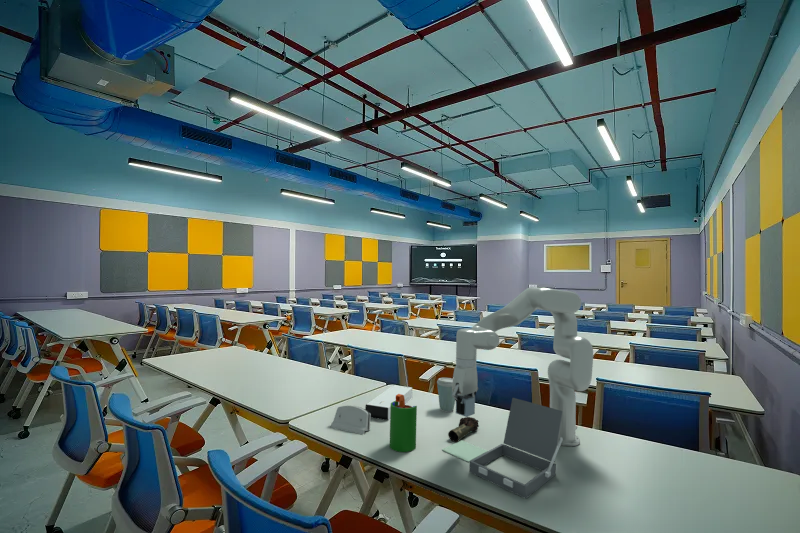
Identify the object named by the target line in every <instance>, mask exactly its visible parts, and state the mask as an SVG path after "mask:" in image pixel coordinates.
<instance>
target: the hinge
mask: <svg viewBox="0 0 800 533" xmlns="http://www.w3.org/2000/svg"><path fill="white" fill-rule="evenodd" d="M371 419H372V418H371V414H370V413H369V412H368V411H367V410H365V408H362V407H360V406H357V405H348V404H347V405H341V406H338V407H337V409H336V412H335V415H334V417H333V421H332V422H331V424H330V428H331V429H335V428H336V430H340V429H341V431H344V430H346V431H345V432H349V431H350V433H353V432H355V434H358V433H359V434H358V435H362V434H364V435H365V432H369V430H370V431H371V429H370V428H371Z"/></svg>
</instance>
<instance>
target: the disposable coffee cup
mask: <svg viewBox="0 0 800 533" xmlns="http://www.w3.org/2000/svg"><path fill="white" fill-rule="evenodd" d="M452 384H453V377H452V378H451V377H439V378H437V381H436V385H437V392H438V393H437V395H438V403H439V404H438V405H439V409H440V411H441V412H444V413H451V412H453V411H454V408H455V406H456V400H455V399H454V398H453V397H452V394H453V392H452Z"/></svg>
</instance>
